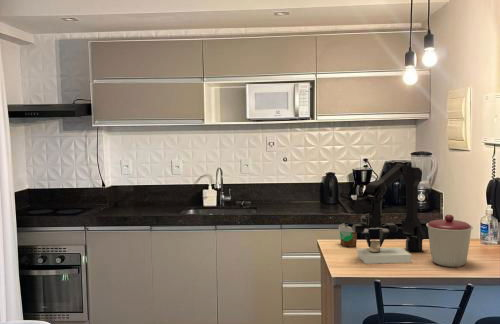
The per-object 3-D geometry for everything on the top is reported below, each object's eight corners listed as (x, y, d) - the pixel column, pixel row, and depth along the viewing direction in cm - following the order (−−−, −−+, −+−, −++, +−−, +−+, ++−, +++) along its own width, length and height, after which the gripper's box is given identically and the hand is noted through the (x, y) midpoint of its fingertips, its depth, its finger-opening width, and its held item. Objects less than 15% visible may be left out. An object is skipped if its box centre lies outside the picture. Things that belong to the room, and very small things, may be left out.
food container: (333, 243, 229) (333, 224, 228) (344, 242, 231) (344, 223, 230) (347, 249, 217) (347, 229, 217) (357, 248, 219) (357, 227, 219)
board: (401, 255, 206) (401, 247, 205) (411, 262, 194) (411, 254, 193) (357, 256, 205) (357, 248, 205) (365, 263, 193) (365, 255, 193)
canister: (444, 271, 180) (444, 220, 179) (417, 259, 198) (417, 212, 196) (482, 267, 184) (483, 217, 183) (452, 256, 202) (453, 210, 201)
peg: (378, 255, 202) (378, 240, 201) (381, 258, 197) (381, 242, 196) (367, 255, 202) (367, 240, 201) (371, 258, 197) (371, 243, 196)
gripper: (389, 208, 206) (389, 242, 207) (349, 209, 206) (349, 243, 207) (398, 212, 195) (398, 248, 196) (355, 213, 195) (355, 249, 196)
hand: (374, 246), depth 199 cm, fingers closed on peg, 5 cm apart
